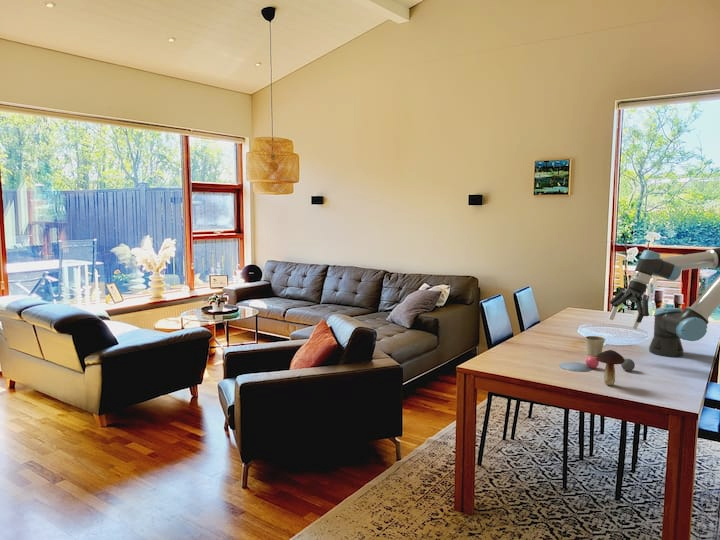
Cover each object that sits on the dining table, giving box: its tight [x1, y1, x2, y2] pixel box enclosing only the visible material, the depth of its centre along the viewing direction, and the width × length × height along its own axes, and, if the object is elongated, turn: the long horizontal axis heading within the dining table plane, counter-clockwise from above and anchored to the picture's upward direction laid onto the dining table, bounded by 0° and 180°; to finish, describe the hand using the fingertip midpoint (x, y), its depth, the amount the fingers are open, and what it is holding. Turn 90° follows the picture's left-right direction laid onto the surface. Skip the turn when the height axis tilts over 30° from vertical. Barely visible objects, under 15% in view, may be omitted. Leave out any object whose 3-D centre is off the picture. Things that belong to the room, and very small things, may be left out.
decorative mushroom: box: [595, 349, 625, 386], centre depth 220 cm, size 11×11×15 cm
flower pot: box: [584, 335, 606, 357], centre depth 265 cm, size 9×9×9 cm
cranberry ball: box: [585, 355, 600, 369], centre depth 244 cm, size 6×6×6 cm
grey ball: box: [620, 358, 636, 372], centre depth 239 cm, size 6×6×6 cm
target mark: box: [559, 361, 593, 373], centre depth 246 cm, size 14×14×1 cm
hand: (621, 323), depth 251 cm, fingers open, 13 cm apart
